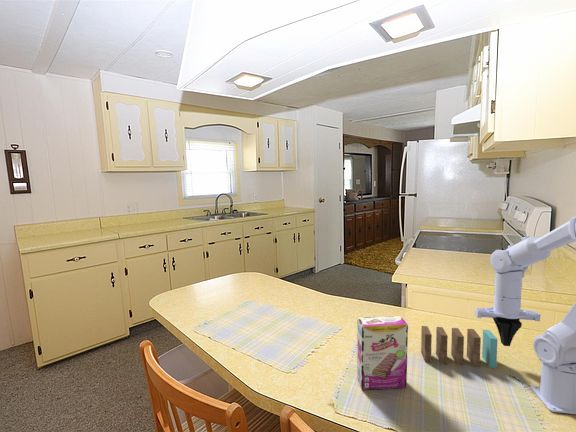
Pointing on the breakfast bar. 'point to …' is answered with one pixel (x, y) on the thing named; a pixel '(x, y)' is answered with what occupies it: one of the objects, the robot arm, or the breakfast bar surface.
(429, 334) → the walnut domino
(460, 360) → the walnut domino
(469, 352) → the walnut domino
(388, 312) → the breakfast bar surface
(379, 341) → the candy bar box
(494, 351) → the teal domino
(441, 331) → the walnut domino
